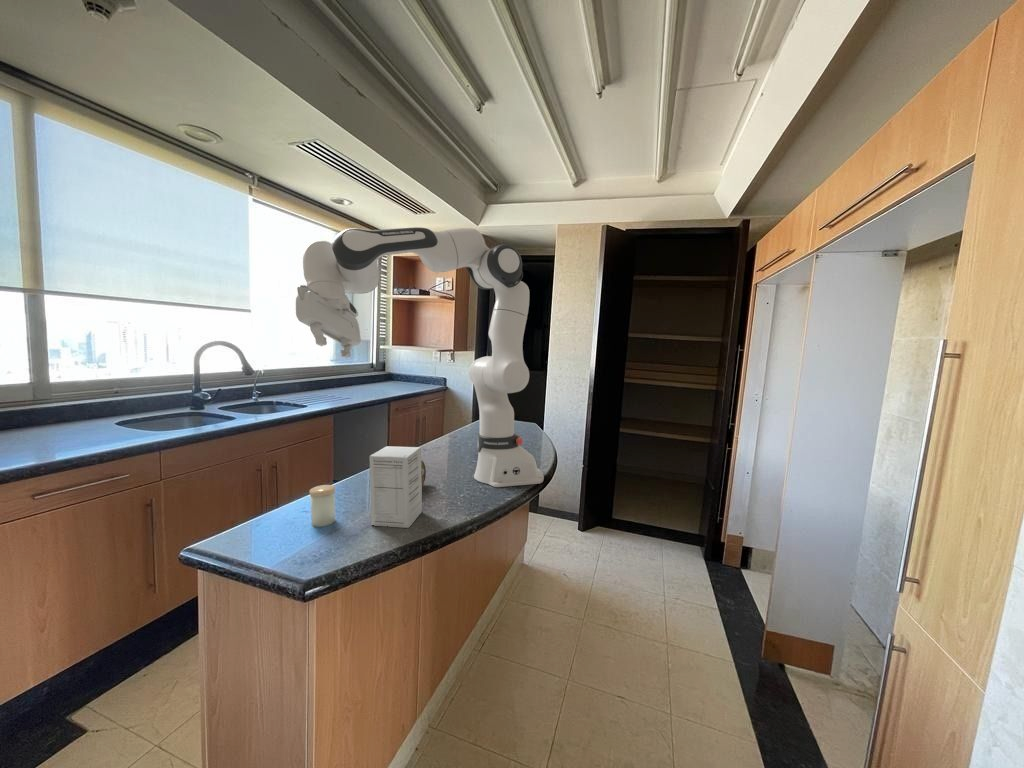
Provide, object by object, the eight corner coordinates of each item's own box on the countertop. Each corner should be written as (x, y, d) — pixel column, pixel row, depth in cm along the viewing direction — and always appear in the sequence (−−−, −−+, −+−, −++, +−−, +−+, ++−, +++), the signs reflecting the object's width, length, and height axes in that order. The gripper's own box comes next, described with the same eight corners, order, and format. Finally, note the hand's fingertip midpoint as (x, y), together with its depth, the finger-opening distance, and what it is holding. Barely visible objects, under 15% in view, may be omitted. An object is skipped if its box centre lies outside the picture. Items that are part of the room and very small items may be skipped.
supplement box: (423, 511, 96) (422, 446, 94) (409, 528, 87) (408, 457, 85) (387, 509, 97) (386, 445, 96) (369, 525, 88) (368, 455, 86)
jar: (339, 516, 93) (338, 484, 92) (330, 526, 87) (329, 493, 86) (316, 516, 92) (315, 485, 91) (306, 527, 87) (305, 493, 86)
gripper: (309, 276, 85) (317, 331, 81) (361, 313, 104) (368, 359, 101) (284, 285, 85) (291, 340, 82) (340, 320, 105) (347, 366, 101)
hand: (334, 351), depth 91 cm, fingers open, 8 cm apart
